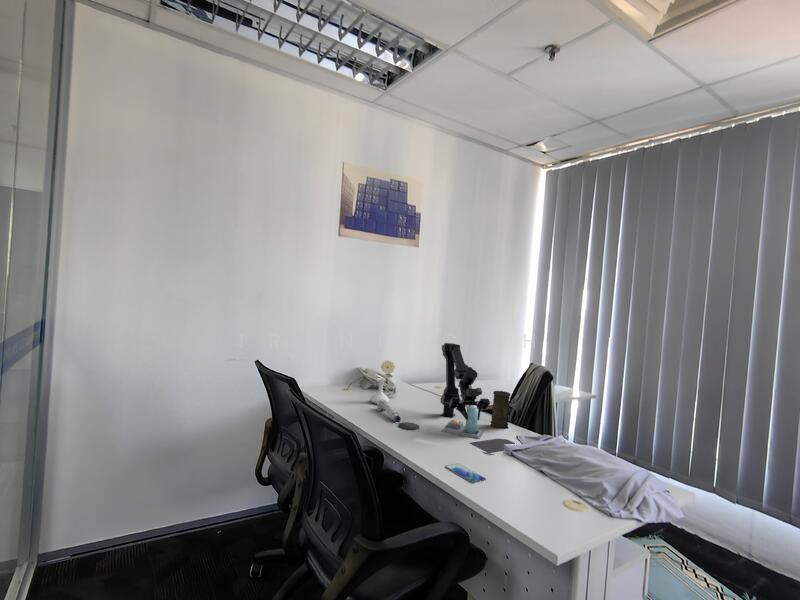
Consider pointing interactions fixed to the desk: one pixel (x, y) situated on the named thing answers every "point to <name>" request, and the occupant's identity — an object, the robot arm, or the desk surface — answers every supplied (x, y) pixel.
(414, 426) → the pad
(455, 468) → the smartphone
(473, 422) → the cartridge
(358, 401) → the desk surface
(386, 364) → the flower in vase
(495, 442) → the notebook
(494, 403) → the container
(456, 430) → the housing
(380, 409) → the white tube
